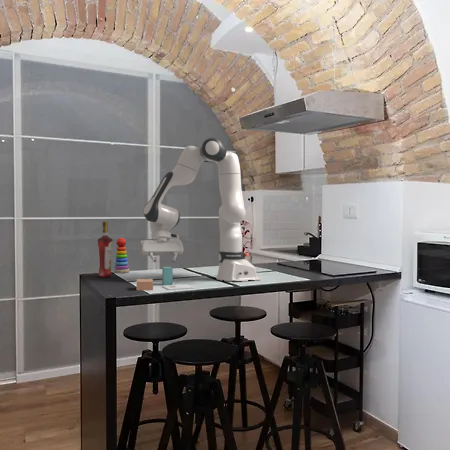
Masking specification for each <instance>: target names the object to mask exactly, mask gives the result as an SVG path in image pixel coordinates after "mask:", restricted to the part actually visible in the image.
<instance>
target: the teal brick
mask: <svg viewBox="0 0 450 450" xmlns="http://www.w3.org/2000/svg"><path fill="white" fill-rule="evenodd" d="M161 268H162V271H161V272H162V273H161V275H162V276H161V279H162V280H161V281H162V282H161V285H162V286H167V285H173V281H174V280H173V278H174V277H173V275H174V274H173V271H174V270H173V269H174V268H173V267H172V266H162V267H161Z"/></svg>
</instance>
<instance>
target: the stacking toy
mask: <svg viewBox="0 0 450 450" xmlns="http://www.w3.org/2000/svg"><path fill="white" fill-rule="evenodd" d="M126 243H127V241H126V239H125V238H124V237H119V238H117V240H116V246H117V247H116V250H117V251H116V255H115V262H114V264H115V266H114V273H116V274H126V273H129V272H130V265H129V259H128V255H127V247H126Z"/></svg>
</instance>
